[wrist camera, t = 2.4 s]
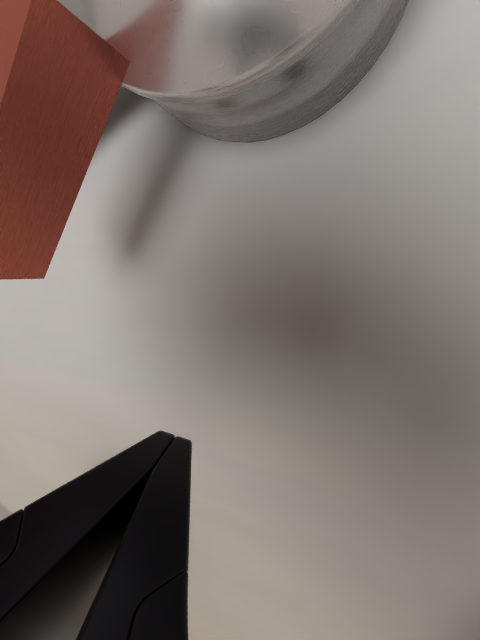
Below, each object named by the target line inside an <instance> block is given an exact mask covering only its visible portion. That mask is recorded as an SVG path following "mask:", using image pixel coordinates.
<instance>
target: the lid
mask: <svg viewBox="0 0 480 640" xmlns="http://www.w3.org/2000/svg"><path fill="white" fill-rule="evenodd" d="M358 2H359V0H0V279H42V278H44V277H45V275H46V272H47V270H48V267H49V265H50V262H51V260H52V257H53V255H54V252H55V250H56V247H57V245H58V242H59V240H60V237H61V235H62V232H63V230H64V227H65V225H66V222H67V220H68V217H69V215H70V212H71V210H72V207H73V205H74V202H75V200H76V197H77V195H78V192H79V190H80V187H81V185H82V182H83V180H84V177H85V175H86V172H87V170H88V167H89V165H90V162H91V160H92V157H93V155H94V152H95V150H96V147H97V145H98V142H99V140H100V137H101V135H102V132H103V130H104V127H105V125H106V122H107V120H108V117H109V115H110V112H111V110H112V107H113V105H114V102H115V100H116V97H117V95H118V92H119V90H120V87H121V86H123V87H125V88H126V89H128V90H130V91H132V92H134V93H136V94H138V95H140V96H143V97H147V98H150V99H153V100H157V101H161V102H169V103H177V104H188V103H204V102H209V101H214V100H218V99H223V98H227V97H230V96H232V95H235V94H238V93H241V92H244V91H246V90H249V89H251V88H253V87H255V86H257V85H259V84H261V83H263V82H265V81H267V80H269V79H271V78H273V77H274V76H276V75H278V74H279V73H280V72H282V71H283V70H285V69H286V68H288V67H289V66H291V65H292V64H294V63H295V62H297V61H298V60H300V59H301V58H302V57H303V56H305V55H306V54H307V53H308V52H309V51H310V50H312V49H313V48H314V47H315V46H316V45H317V44H319V43H320V42H321V41H322V40H323V39H324V38H326V37H327V36H328V35H329V34H330V33H331V31H332V30H333V29H334V28H335V27H336V26H337V25H338V24H339V23H340V22H341V21H342V20H343V19H344V18H345V17H346V16H347V15H348V14H349V13H350V12H351V10H352V9H353V8H354V7H355V5H356V4H357V3H358Z"/></svg>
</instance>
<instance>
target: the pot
mask: <svg viewBox="0 0 480 640" xmlns="http://www.w3.org/2000/svg"><path fill="white" fill-rule="evenodd" d="M407 2H408V0H359V2H358V3H357V4H356V5H355V7H354V8H353V9H352V10H351V12H350V13H349V14H348V15H347V16H346V17H345V18H344V19H343V20H342V21H341V22H340V23H339V24H338V25H337V26H336V27H335V28H334V29H333V30H332V31H331V33H330V34H329V35H328V36H327V37H326V38H324V39H323V40H322V41H321V42H320V43H319V44H317V45H316V46H315V47H314V48H313V49H312V50H310V51H309V52H308V53H307V54H306V55H305V56H303V57H302V58H301V59H300V60H298V61H297V62H295V63H294V64H292V65H291V66H289V67H288V68H286V69H285V70H283V71H282V72H280V73H279V74H278V75H276V76H274V77H273V78H271V79H269V80H267V81H265V82H263V83H261V84H259V85H257V86H255V87H253V88H251V89H249V90H246V91H244V92H241V93H238V94H235V95H232V96H230V97H227V98H223V99H218V100H214V101H209V102H204V103H188V104H177V103H169V102H161V101H157V100H154V101H155V102H156V103H158V104H159V105H160V106H162V107H163V108H164V109H166V110H167V111H168V112H170V113H171V114H172V115H173V116H175V117H176V118H177V119H179V120H180V121H181V122H183V123H184V124H186V125H187V126H188V127H190V128H191V129H193V130H195V131H197V132H199V133H201V134H203V135H205V136H209V137H212V138H215V139H218V140H224V141H231V142H253V141H260V140H266V139H270V138H273V137H277V136H280V135H284V134H286V133H289V132H291V131H293V130H295V129H298V128H300V127H302V126H304V125H306V124H307V123H309V122H311V121H312V120H314V119H316V118H317V117H319V116H321V115H322V114H323V113H325V112H326V111H327V110H329V109H330V108H331V107H333V106H334V105H335V104H336V103H338V102H339V101H340V100H341V99H342V98H343V97H344V96H345V95H346V94H347V93H348V92H350V91H351V90H352V89H353V88H354V87H355V86H356V85H357V84H358V82H359V81H360V80H361V79H362V78H363V76H364V75H365V74H366V73H367V72H368V71H369V69H370V68H371V67H372V66H373V64H374V63H375V61H376V60H377V58H378V57H379V56H380V54H381V53H382V51H383V50H384V48H385V47H386V45H387V44H388V42H389V40H390V38H391V36H392V34H393V33H394V31H395V29H396V27H397V25H398V24H399V22H400V19H401V17H402V14H403V12H404V10H405V7H406V5H407ZM152 100H153V99H152Z"/></svg>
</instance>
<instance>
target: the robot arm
mask: <svg viewBox="0 0 480 640" xmlns="http://www.w3.org/2000/svg"><path fill="white" fill-rule="evenodd" d="M191 454H192V442H191V441H190V440H188V439H185V438H182V437H179V436H177V437H175V436H174V435H173V434H170V433H167V432H164V431H158V432H156V433H154V434H152V435H151V436H149V437H147V438H145V439H144V440H142V441H140V442H138V443H137V444H135V445H133V446H131V447H130V448H128V449H126V450H124V451H123V452H121V453H119V454H117V455H116V456H114V457H112V458H110V459H108V460H107V461H105V462H103V463H101V464H100V465H98V466H96V467H94V468H93V469H91V470H89V471H87V472H86V473H84V474H82V475H80V476H79V477H77V478H75V479H73V480H72V481H70V482H68V483H66V484H64V485H63V486H61V487H59V488H57V489H56V490H54V491H52V492H50V493H49V494H47V495H45V496H43V497H42V498H40V499H38V500H36V501H35V502H33V503H31V504H29V505H28V506H26V507H25V508H24V510H22V509H20V510H18V511H17V512H15V513H13V514H11V515H10V516H8V517H7V518H4V519H3V520H1V521H0V640H188V573H187V572H188V556H189V522H190V488H191Z"/></svg>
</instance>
